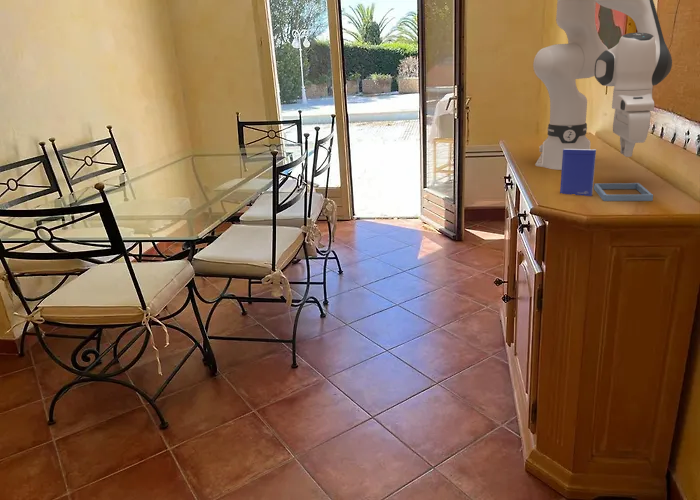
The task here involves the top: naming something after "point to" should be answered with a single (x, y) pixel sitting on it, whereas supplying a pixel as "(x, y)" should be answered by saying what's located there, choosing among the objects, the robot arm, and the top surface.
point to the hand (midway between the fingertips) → (626, 155)
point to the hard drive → (578, 171)
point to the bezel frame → (643, 196)
